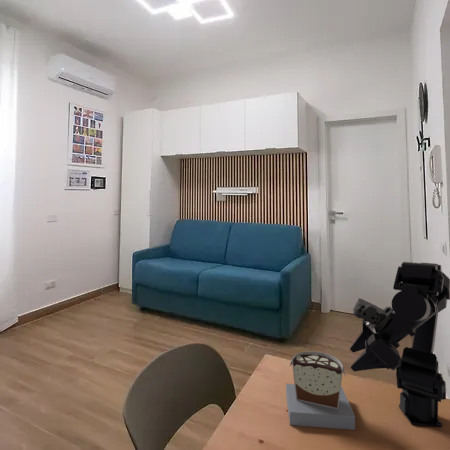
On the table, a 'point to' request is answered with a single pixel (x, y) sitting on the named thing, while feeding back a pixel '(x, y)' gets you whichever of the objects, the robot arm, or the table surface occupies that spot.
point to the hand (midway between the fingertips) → (351, 359)
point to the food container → (317, 378)
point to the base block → (319, 412)
